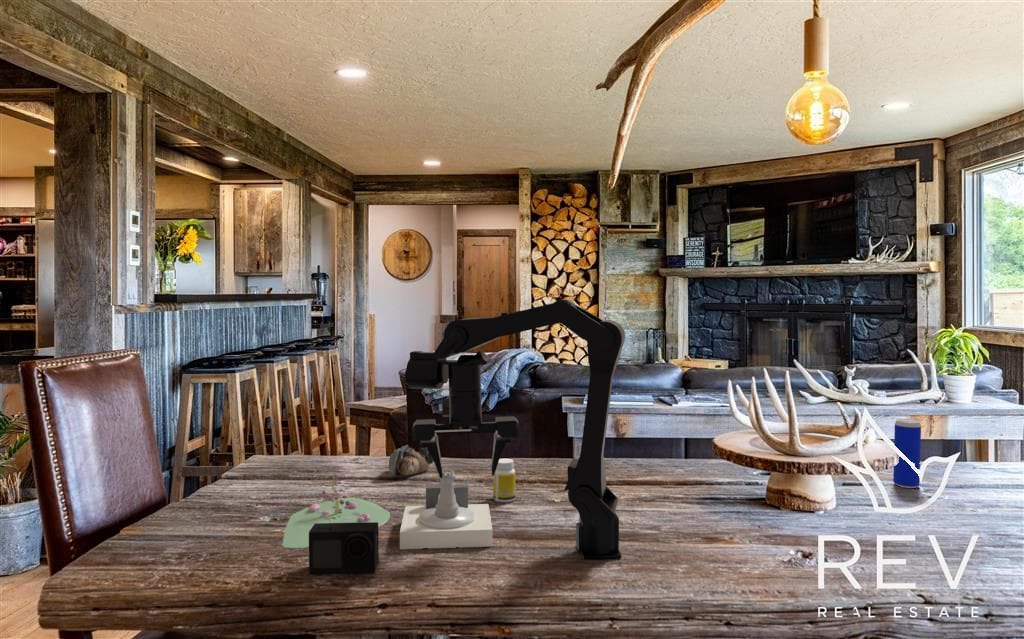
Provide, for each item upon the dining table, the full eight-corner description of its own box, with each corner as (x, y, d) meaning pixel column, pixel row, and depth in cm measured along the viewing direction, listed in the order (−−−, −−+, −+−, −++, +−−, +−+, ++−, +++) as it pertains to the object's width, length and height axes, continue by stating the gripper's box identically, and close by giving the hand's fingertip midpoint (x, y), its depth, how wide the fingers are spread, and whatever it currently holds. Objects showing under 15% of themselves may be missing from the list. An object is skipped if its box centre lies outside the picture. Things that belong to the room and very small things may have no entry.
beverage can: (919, 485, 155) (921, 420, 154) (919, 490, 151) (920, 423, 150) (893, 481, 158) (895, 417, 157) (892, 487, 153) (894, 421, 153)
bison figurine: (386, 481, 159) (429, 480, 158) (384, 452, 158) (427, 450, 158) (397, 468, 171) (437, 467, 170) (396, 441, 170) (436, 439, 170)
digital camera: (306, 578, 105) (305, 534, 105) (314, 564, 111) (314, 522, 110) (373, 577, 106) (373, 533, 106) (378, 563, 111) (378, 521, 111)
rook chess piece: (447, 509, 126) (447, 466, 126) (464, 514, 123) (464, 471, 123) (429, 515, 123) (429, 471, 123) (446, 520, 120) (447, 476, 120)
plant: (366, 553, 117) (365, 501, 116) (250, 550, 118) (248, 499, 118) (400, 506, 141) (399, 463, 141) (303, 504, 143) (303, 462, 142)
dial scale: (488, 519, 132) (488, 483, 132) (492, 546, 118) (492, 506, 118) (405, 521, 131) (405, 485, 130) (399, 549, 117) (399, 509, 116)
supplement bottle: (520, 499, 144) (520, 460, 144) (504, 504, 141) (504, 464, 141) (503, 494, 148) (503, 456, 147) (488, 499, 144) (488, 460, 144)
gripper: (513, 381, 129) (515, 462, 130) (414, 385, 128) (417, 466, 128) (518, 390, 118) (520, 478, 119) (410, 393, 116) (413, 483, 117)
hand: (467, 476), depth 121 cm, fingers open, 9 cm apart
